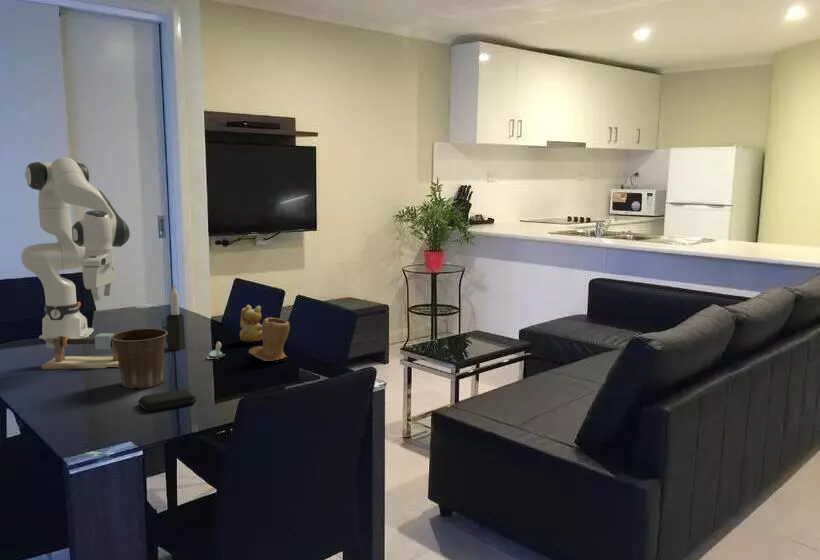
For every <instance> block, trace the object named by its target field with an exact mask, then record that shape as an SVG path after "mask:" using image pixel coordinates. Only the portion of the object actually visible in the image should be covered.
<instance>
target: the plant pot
mask: <svg viewBox="0 0 820 560" xmlns="http://www.w3.org/2000/svg"><path fill="white" fill-rule="evenodd" d="M167 336H168V335H167V330H165V329H160V328H134V329H129V330H125V331H124V330H123V331H120V332H116V333H114V335H112V337H111V339H112V340H113V342H114V346H115V350H116V352H117V357H118V363H119V368H118V369H119V374H120V379H121V380H120V381H121V385H123V386H124V387H123V388H125V387H126V389H129V388H130V390H131V389H132V390H134V389H135V388H137V389H140V390H141V389H142V390H143V389H150V388H153V387H156V386H158V385H161V384H162V383H163V382H164V364H165V363H164V362H165V360H164V359H165V346H166V340H167ZM149 387H150V388H149Z"/></svg>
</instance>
